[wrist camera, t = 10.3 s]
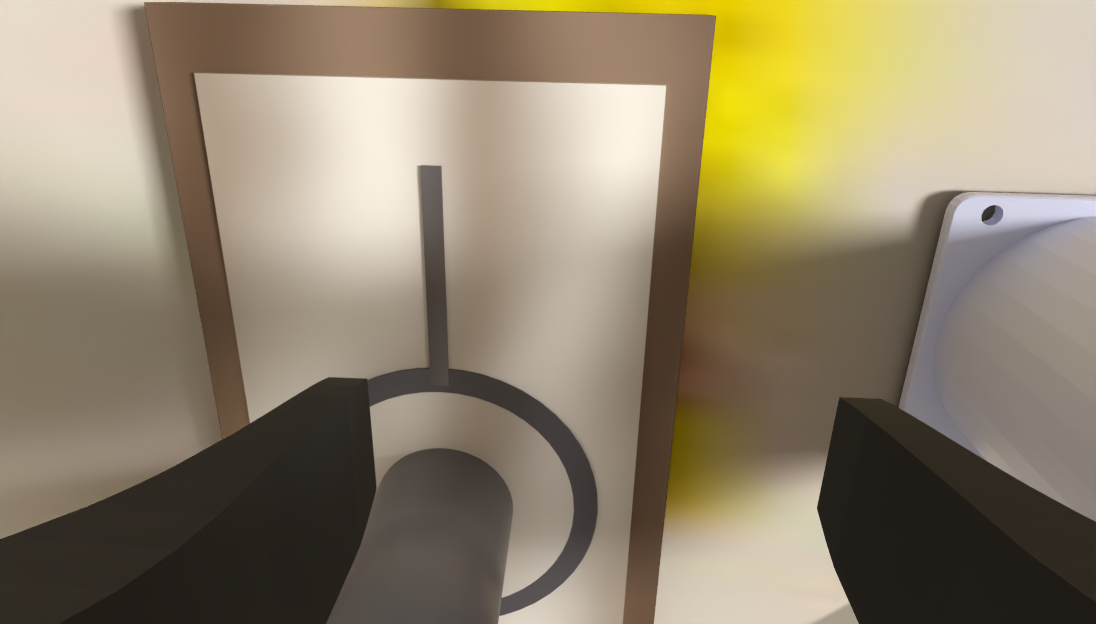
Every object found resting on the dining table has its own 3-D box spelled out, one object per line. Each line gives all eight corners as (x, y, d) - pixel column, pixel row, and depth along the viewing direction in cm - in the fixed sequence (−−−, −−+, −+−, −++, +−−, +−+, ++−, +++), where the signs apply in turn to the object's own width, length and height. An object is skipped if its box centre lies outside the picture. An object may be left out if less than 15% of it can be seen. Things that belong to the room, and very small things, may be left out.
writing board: (707, 14, 18) (718, 16, 16) (646, 640, 25) (649, 678, 24) (170, 2, 18) (135, 2, 17) (274, 621, 26) (255, 657, 24)
